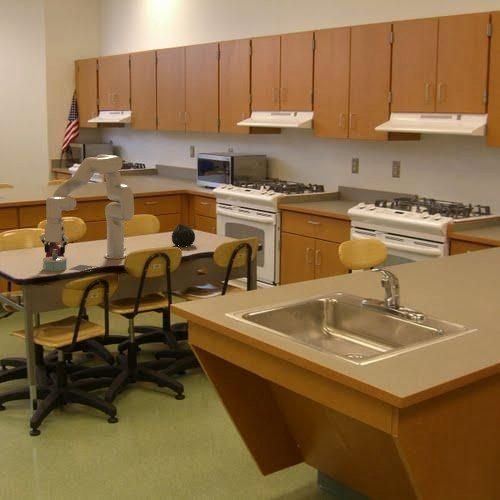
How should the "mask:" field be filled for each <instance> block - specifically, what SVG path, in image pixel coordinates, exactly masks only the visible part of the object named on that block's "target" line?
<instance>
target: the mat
mask: <svg viewBox="0 0 500 500" xmlns="http://www.w3.org/2000/svg"><path fill="white" fill-rule="evenodd" d="M92 267H97V265H96V266H94V265H85V264H79V265H76V266H74V267H72V268H71V267H70V268H68V270H71V271H79V272H80V271H82V272H84V271H83V270H85V269H88V268H92ZM91 271H93V270H90V271H87V272H88V273H90V272H91Z"/></svg>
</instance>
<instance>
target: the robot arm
mask: <svg viewBox="0 0 500 500" xmlns="http://www.w3.org/2000/svg"><path fill="white" fill-rule="evenodd" d="M122 167H123V160H122V158H121V157H120V156H118V155H110V154H109V155H108V154H98V155H96V156H95V157H92V156H91V157H89V156H88V157H85V158H84V159H83V160H82V161H81V163H80V165H79V166H78V168H77V169H76V171H75V172H74V174H73V176H72V177H70V178H69V179H68V180H66V181H64V182H63V183H62V184H60V185H59V186H58V188H57V189H56V190H55V191H54V193H53V195H52V196H49V197H47V198H46V202H45V204H46V207H45V208H46V222H45V225H44V233H43V234H42V235H40V236H39V238H40V240H41V243H42V244H43V246H44V253H45V254H46V253H47V252H49V245H50V242H55V243H56V244H58V245H60V246H59V247H60V254H64V255H65V252H66V246H67V245H68V243H69V241H70V240H71V239H70V238H69V237H67V236H66V231H65V226H64V221H65V220H64V219H63V218H62V211H72V210H74V209H75V208H76V207H77V200H76V198H74V197H73V196H70V194H71V193H73V192H75V191H78V190H81V189H83V188H85V187H86V186H87V185H88V183H89V182H90V180H91V179H92V178H93V176H94V174H99V175H104V177H105V186H106V187H105V188H106V197H107V199H109V200H110V201H114V202H109V203H107V204H106V206H105V207H104V208H105V209H104V211H105V212H104V214H105V218H106V219H105V220H106V253H105V254H104V258H106V259H110V260H117V259H118V260H121V259H125V258H126V257H125V256H126V255H127V254H126V253H125V252H126V250H127V248H126V247H125V238H124V237H125V227H124V223H123V222H129V221H131V220H132V219H133V217H134V215H135V201H134V200H135V199H134V191H133V189H132V187H131V186H129V185H127V184H123V183H122V177H121V172H120V170H121V169H122ZM120 258H121V259H120Z"/></svg>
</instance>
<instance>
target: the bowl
mask: <svg viewBox="0 0 500 500" xmlns="http://www.w3.org/2000/svg"><path fill="white" fill-rule="evenodd" d="M42 264H43V270H44V272H45V271H46V272H54V273H55V272H62V271H65V270H67V261H65V262H60V263H48V262H44V261H43V263H42Z"/></svg>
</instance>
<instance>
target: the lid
mask: <svg viewBox="0 0 500 500" xmlns="http://www.w3.org/2000/svg"><path fill="white" fill-rule="evenodd" d="M42 260H43V261H44V262H48V263H60V262H65V261H66V262H67V261H68V259H67V257H65V256H64V257H58V256H57V249H52V257H46V256H45V257H44V258H43V259H42Z"/></svg>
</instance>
